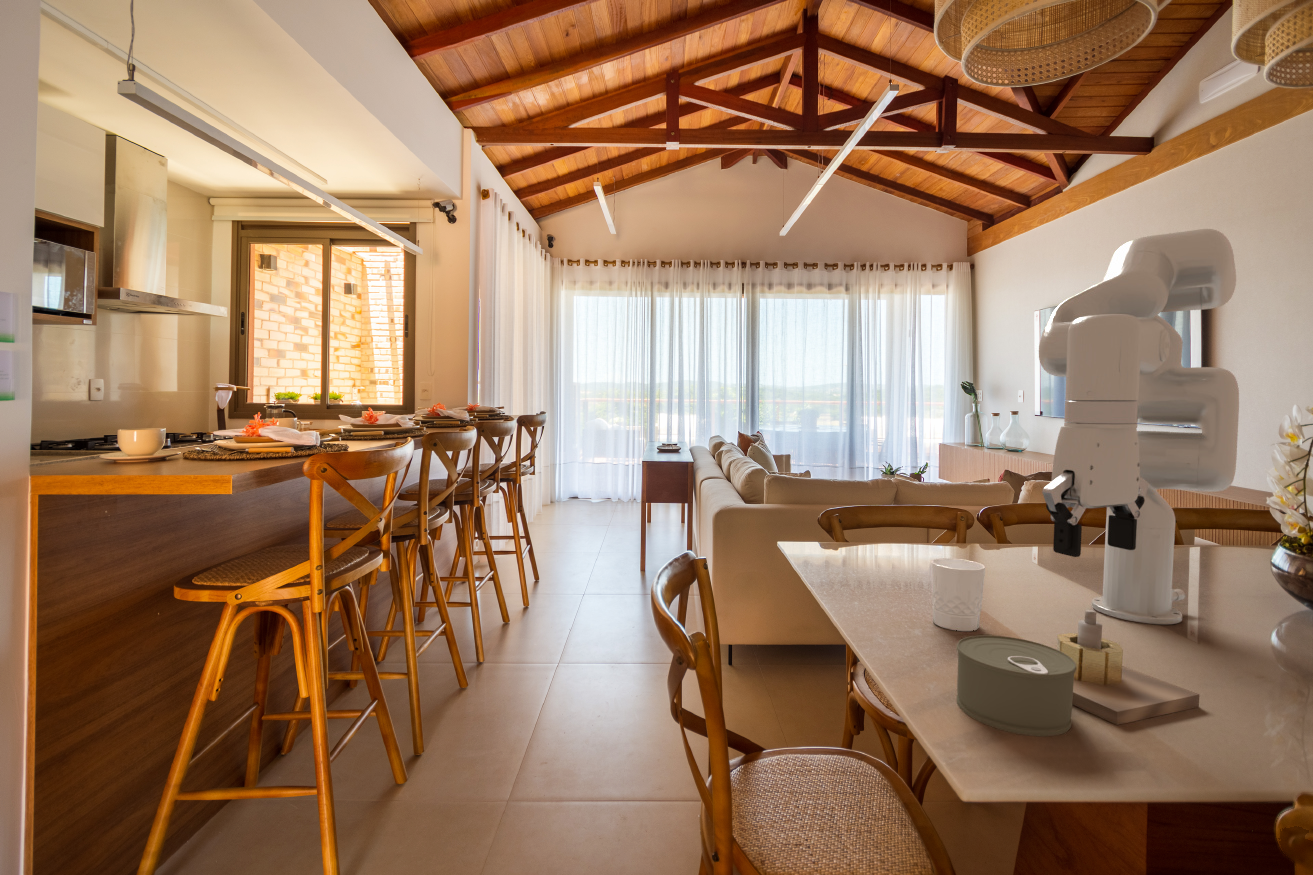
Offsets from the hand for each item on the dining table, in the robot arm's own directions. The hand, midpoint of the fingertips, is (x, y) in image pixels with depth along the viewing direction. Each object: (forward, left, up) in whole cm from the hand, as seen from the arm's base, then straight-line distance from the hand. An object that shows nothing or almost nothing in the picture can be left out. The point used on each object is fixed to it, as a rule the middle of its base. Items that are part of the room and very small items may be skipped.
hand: (1094, 551), depth 82 cm
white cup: (-1, -23, -17) cm, 29 cm away
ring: (0, 0, -16) cm, 16 cm away
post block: (+1, 0, -17) cm, 17 cm away
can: (+16, +2, -17) cm, 24 cm away
